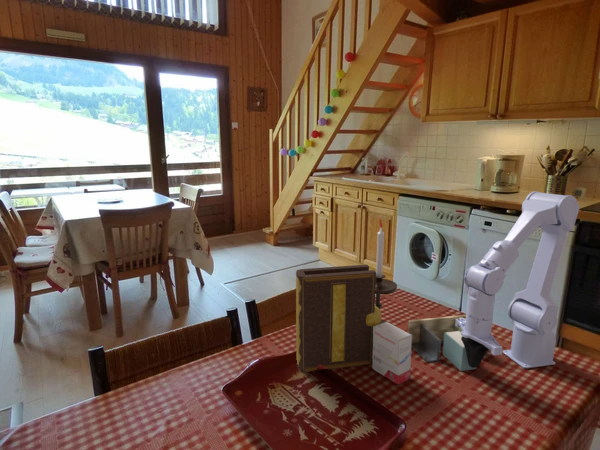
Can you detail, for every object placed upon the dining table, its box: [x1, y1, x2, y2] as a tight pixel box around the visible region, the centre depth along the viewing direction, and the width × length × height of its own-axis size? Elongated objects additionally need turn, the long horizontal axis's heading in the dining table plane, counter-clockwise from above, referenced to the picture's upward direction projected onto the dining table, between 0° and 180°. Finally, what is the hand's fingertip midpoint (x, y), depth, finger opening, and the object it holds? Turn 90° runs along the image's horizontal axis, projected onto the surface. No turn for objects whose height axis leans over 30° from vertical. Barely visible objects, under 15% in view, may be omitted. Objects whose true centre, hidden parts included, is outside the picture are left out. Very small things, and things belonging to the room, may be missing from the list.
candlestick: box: [375, 217, 398, 324], centre depth 112 cm, size 11×11×35 cm
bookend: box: [411, 324, 442, 363], centre depth 101 cm, size 4×9×6 cm, turn 11°
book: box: [295, 264, 383, 373], centre depth 95 cm, size 22×8×25 cm, turn 102°
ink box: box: [372, 321, 412, 386], centre depth 91 cm, size 9×5×12 cm, turn 33°
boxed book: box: [442, 331, 477, 372], centre depth 97 cm, size 4×8×6 cm, turn 12°
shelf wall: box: [407, 314, 466, 343], centre depth 107 cm, size 18×1×7 cm, turn 101°
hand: (473, 366), depth 91 cm, fingers closed
